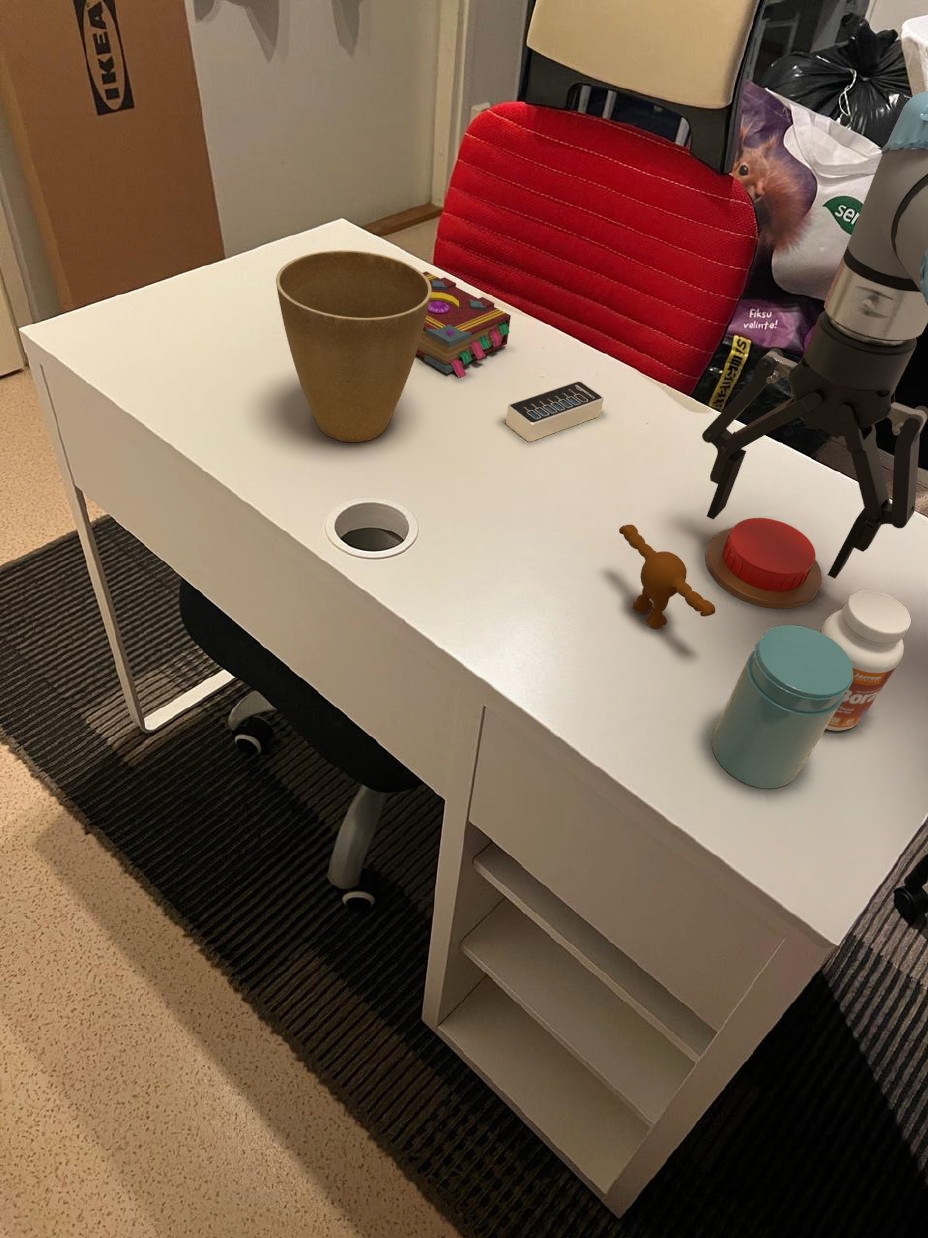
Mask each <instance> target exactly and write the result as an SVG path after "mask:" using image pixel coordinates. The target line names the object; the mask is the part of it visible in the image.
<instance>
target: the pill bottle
mask: <svg viewBox="0 0 928 1238" xmlns="http://www.w3.org/2000/svg"><path fill="white" fill-rule="evenodd" d="M911 623H912V618H911V615H910V613H909V610H908V608H906V607H905V606H904V604H903V603H901V602H900V601H899V600H898V599H896V598H895V597H893V596H892V595H889V594H888V593H884V592H882V591H879V590H873V589H861V590H857V591H855V592H853V593H852V594H851V595H850V596H849V598H848V600H847V601H846V603H845V604H844V606H843V608H842V609H838V610H837V611H834V612H833V613H832V614H830V615H829V617H827V619H825V621H824V623H823V624H822V626H821V628H820V629H819V632H820V633H822V634H824V635H826V636H828V637H829V638H831V639H832V640H833V641H835V642H836V643H837V644H838V645H839V646H840V647H841V648H842V649H843V650H844V651H845V653H846V654H847V655H848V657H849V659H850V661H851V664H852V668H853V682H852V683H851V685H850V687H849V689H848V690H847V691H846V692H845V694H844V699H843V701H842V703H841V705H840V706H839V708H838V709H837V711H836V713H835V714H834V716H833V718H832V719H831V721H830V722H829V724H828V726H827V727H826V729H825V730H829V731H835V732H837V731H846V730H849V729H852V728H854V727H856V726H857V725H858V724H859V723H860V722H861V721H862V719H863V718H864V717H865V715H866V714H867V712H868V711H869V709H870V708H871V706H872V704H873V703H874V701H875V700H876V698H877V697H878V696H879V694H880V692H881V691H882V689H883V688H884V687H885V685H886V684H887V682H888V680H889V679H890V678H891V676H892V674H893V673H894V671H895V670H896V668H897V667H898V665H899V663H900V661H901V660H902V657H903V655H904V651H905V650H904V649H905V645H904V641H903V638H904V637H905V635H906V634H907V632H908V630H909V628H910V626H911Z"/></svg>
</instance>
